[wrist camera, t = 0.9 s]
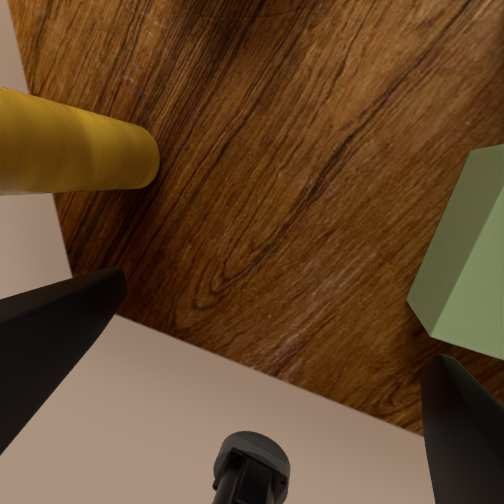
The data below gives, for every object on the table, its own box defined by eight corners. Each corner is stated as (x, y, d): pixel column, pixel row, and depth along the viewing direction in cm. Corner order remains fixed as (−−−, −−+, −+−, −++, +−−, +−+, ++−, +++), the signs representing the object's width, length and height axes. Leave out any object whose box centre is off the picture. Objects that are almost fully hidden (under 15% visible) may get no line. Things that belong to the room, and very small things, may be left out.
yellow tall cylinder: (151, 197, 23) (-55, 219, 10) (102, 175, 23) (-148, 171, 11) (167, 137, 21) (-55, 79, 9) (113, 115, 22) (-163, 32, 9)
